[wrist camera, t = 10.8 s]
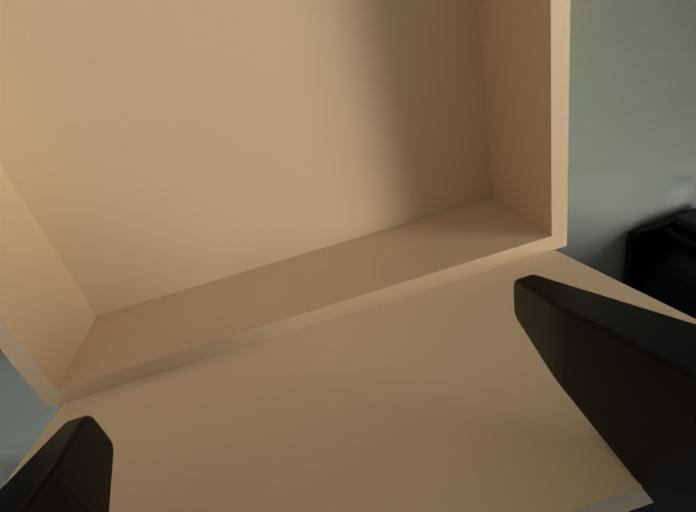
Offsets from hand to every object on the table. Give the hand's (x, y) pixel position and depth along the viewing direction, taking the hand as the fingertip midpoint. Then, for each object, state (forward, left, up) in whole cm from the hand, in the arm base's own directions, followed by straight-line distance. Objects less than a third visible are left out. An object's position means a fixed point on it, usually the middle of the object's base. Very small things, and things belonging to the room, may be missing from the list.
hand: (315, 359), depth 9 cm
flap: (-2, 0, -1) cm, 3 cm away
